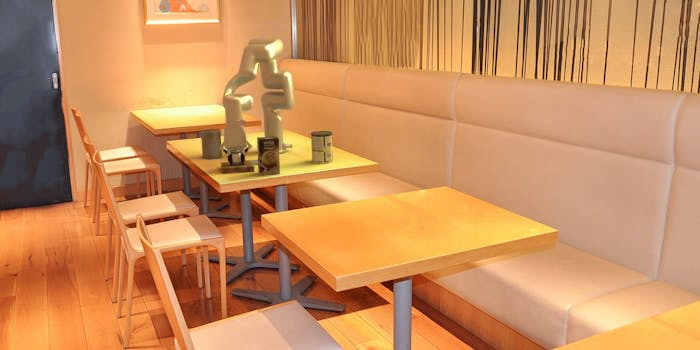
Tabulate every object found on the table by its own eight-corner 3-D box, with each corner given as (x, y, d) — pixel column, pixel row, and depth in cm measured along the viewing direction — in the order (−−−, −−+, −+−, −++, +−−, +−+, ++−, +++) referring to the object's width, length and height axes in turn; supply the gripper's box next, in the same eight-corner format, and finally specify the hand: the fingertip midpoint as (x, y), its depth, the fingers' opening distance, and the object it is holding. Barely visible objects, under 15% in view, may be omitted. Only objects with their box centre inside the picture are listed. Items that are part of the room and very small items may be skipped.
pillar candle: (212, 154, 328) (209, 125, 324) (226, 156, 323) (224, 127, 319) (198, 158, 320) (196, 128, 316) (213, 160, 315) (210, 130, 311)
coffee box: (259, 175, 280) (258, 139, 276) (258, 172, 286) (256, 137, 282) (280, 174, 282) (279, 138, 278) (278, 171, 288) (276, 135, 285)
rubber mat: (259, 160, 312) (259, 159, 312) (261, 164, 303) (261, 163, 303) (238, 161, 310) (238, 160, 310) (240, 165, 300) (240, 164, 300)
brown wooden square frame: (251, 165, 300) (251, 160, 300) (254, 171, 287) (254, 166, 287) (221, 167, 297) (220, 162, 297) (223, 173, 284) (222, 168, 283)
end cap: (242, 167, 296) (241, 148, 294) (243, 170, 290) (242, 150, 288) (230, 168, 294) (229, 149, 292) (230, 170, 289) (229, 151, 287)
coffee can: (315, 158, 314) (314, 130, 311) (335, 159, 311) (335, 131, 308) (308, 163, 304) (307, 133, 301) (329, 164, 301) (328, 134, 298)
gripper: (252, 121, 293) (254, 160, 297) (214, 123, 289) (217, 162, 293) (254, 124, 286) (256, 163, 290) (215, 126, 282) (218, 166, 286)
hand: (236, 162), depth 292 cm, fingers closed on end cap, 5 cm apart
